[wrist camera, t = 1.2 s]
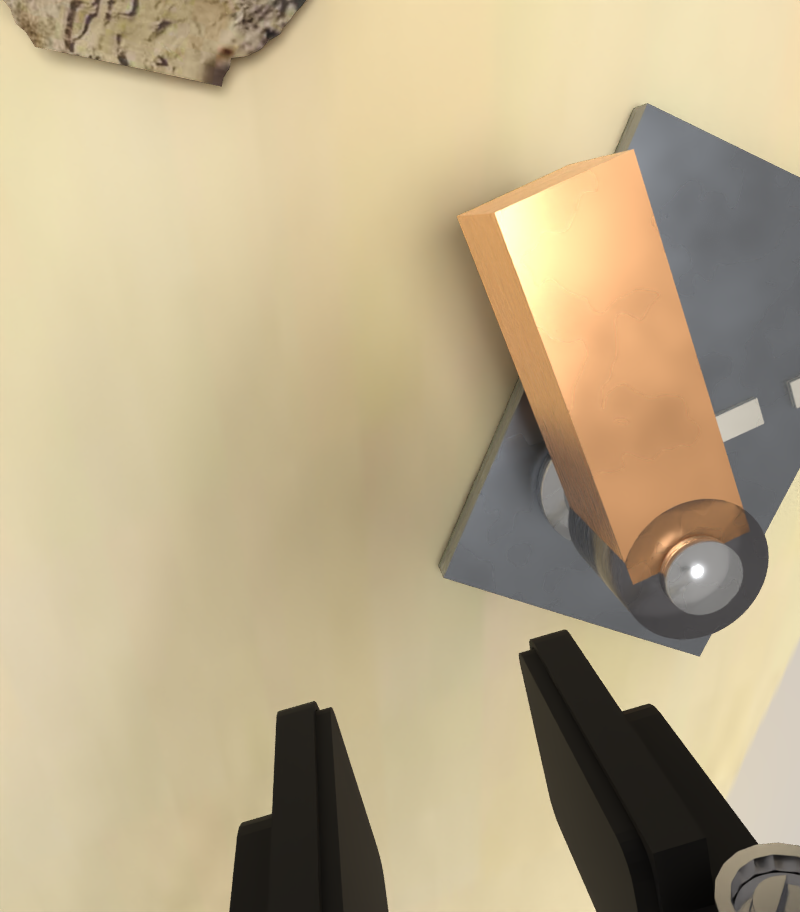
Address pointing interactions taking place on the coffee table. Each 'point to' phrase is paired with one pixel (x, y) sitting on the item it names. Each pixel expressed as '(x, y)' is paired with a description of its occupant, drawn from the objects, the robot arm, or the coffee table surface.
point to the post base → (720, 358)
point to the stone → (156, 31)
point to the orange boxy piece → (619, 393)
